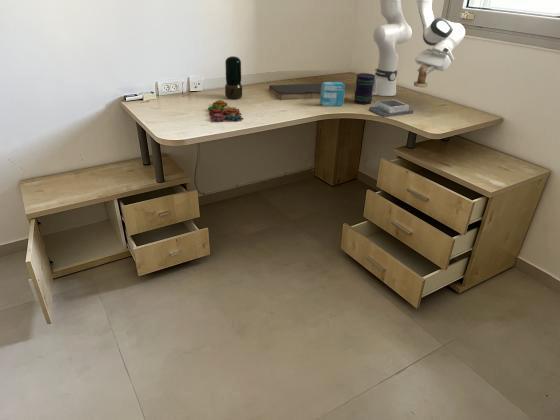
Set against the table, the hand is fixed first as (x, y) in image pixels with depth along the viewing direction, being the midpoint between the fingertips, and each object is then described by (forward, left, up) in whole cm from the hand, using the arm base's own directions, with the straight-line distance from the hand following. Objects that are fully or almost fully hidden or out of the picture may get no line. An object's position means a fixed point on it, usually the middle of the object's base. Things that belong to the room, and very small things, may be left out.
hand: (422, 72), depth 224 cm
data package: (-21, -41, -19) cm, 50 cm away
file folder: (-48, -45, -20) cm, 68 cm away
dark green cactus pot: (-52, -86, -19) cm, 102 cm away
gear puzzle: (-28, -100, -20) cm, 106 cm away
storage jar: (-20, -21, -19) cm, 35 cm away
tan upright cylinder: (0, +1, -7) cm, 7 cm away
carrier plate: (0, -17, -19) cm, 25 cm away
